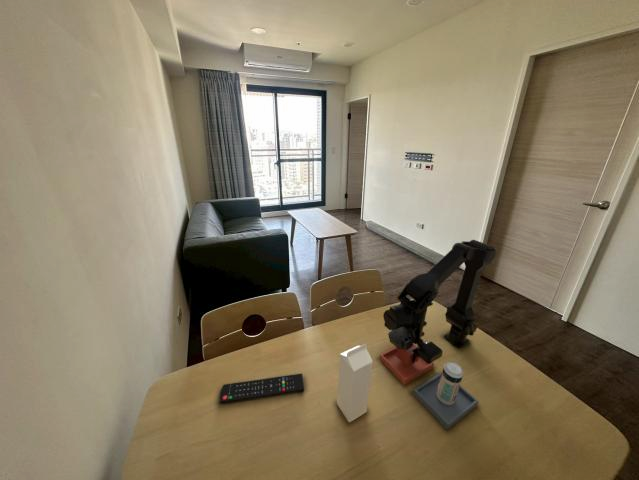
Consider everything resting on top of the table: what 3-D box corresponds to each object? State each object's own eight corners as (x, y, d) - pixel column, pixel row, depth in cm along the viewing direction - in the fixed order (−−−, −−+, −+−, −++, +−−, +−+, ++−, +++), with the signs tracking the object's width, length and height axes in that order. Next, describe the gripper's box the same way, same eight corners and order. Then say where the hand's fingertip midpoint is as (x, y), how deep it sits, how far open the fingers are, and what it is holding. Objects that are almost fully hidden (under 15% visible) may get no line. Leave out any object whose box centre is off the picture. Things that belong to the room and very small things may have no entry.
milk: (366, 412, 69) (375, 352, 61) (348, 423, 66) (355, 362, 58) (353, 393, 74) (359, 335, 65) (336, 403, 71) (340, 344, 63)
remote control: (304, 392, 74) (304, 388, 74) (218, 405, 70) (218, 402, 70) (302, 376, 79) (302, 373, 78) (222, 388, 75) (221, 384, 74)
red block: (406, 350, 87) (408, 339, 85) (418, 361, 83) (420, 349, 81) (395, 356, 84) (397, 344, 82) (407, 367, 80) (409, 355, 78)
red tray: (407, 344, 92) (407, 340, 91) (433, 367, 83) (434, 363, 82) (379, 358, 86) (380, 354, 85) (404, 385, 77) (405, 380, 76)
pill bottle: (450, 391, 74) (459, 361, 70) (457, 407, 70) (467, 376, 66) (433, 389, 75) (441, 359, 70) (439, 405, 71) (448, 374, 66)
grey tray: (442, 375, 80) (443, 370, 79) (476, 405, 71) (478, 401, 70) (413, 394, 74) (414, 389, 73) (447, 430, 65) (448, 425, 64)
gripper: (374, 309, 81) (370, 346, 87) (421, 348, 66) (412, 390, 72) (399, 299, 86) (393, 335, 92) (448, 334, 71) (437, 374, 77)
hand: (407, 356), depth 83 cm, fingers closed on red block, 5 cm apart
